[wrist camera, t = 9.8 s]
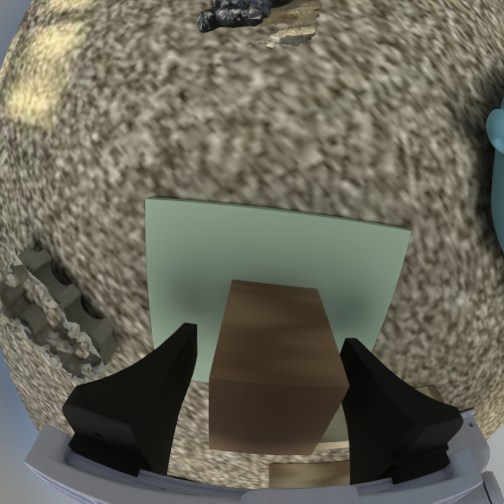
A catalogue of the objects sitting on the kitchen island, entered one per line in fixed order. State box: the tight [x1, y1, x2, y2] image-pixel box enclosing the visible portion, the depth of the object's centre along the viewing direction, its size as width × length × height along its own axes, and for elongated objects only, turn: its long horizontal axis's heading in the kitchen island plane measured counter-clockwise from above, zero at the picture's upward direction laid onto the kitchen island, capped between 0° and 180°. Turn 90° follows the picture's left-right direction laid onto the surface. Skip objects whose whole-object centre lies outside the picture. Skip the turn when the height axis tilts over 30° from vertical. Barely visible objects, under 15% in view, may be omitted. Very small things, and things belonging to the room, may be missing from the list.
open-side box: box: [269, 385, 444, 488], centre depth 18 cm, size 13×14×4 cm
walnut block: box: [209, 279, 350, 455], centre depth 12 cm, size 4×5×7 cm
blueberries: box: [198, 0, 322, 51], centre depth 9 cm, size 7×8×2 cm
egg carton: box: [0, 249, 118, 385], centre depth 15 cm, size 10×7×4 cm
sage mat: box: [145, 197, 411, 383], centre depth 15 cm, size 14×12×1 cm
